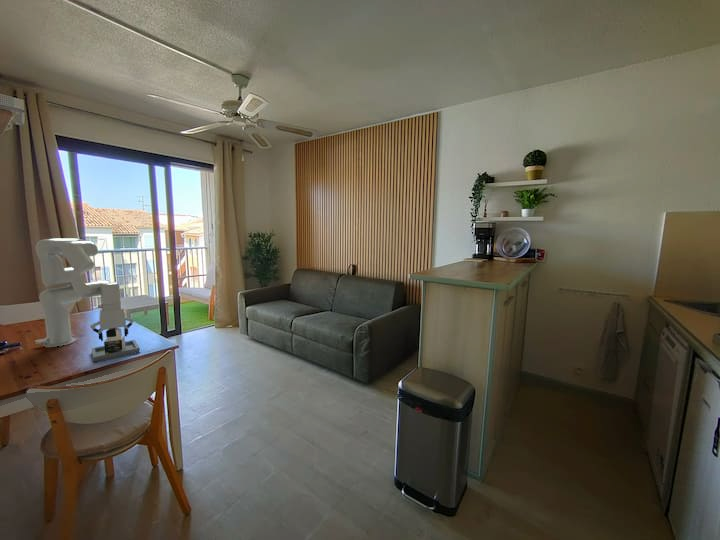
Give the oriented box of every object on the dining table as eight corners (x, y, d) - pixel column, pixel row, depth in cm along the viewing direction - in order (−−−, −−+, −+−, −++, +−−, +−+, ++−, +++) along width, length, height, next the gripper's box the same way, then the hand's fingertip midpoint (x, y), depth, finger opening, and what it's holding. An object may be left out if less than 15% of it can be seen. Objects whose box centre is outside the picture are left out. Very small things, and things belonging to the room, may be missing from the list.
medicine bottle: (105, 354, 147) (102, 332, 146) (108, 349, 153) (106, 328, 152) (122, 352, 150) (120, 330, 149) (125, 347, 157) (123, 326, 155)
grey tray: (93, 362, 140) (93, 357, 140) (92, 352, 151) (91, 348, 151) (139, 352, 153) (139, 347, 152) (135, 343, 164) (134, 339, 163)
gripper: (88, 310, 140) (92, 344, 142) (133, 305, 152) (135, 336, 154) (88, 307, 145) (91, 340, 148) (131, 302, 157) (133, 332, 160)
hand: (114, 338), depth 151 cm, fingers open, 9 cm apart
